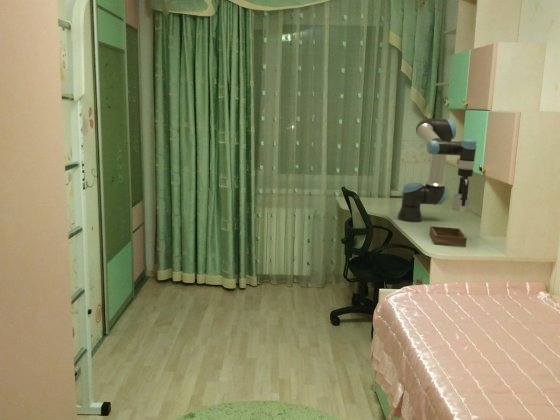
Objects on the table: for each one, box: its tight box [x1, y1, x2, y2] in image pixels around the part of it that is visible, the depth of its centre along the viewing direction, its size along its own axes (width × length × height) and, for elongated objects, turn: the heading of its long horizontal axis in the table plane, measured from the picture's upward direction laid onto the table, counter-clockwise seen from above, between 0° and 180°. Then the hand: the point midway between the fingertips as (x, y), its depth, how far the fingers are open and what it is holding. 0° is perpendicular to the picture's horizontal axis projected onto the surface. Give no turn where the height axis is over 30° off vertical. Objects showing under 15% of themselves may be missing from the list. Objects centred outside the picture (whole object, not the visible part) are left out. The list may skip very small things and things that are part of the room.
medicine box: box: [452, 193, 472, 213], centre depth 288 cm, size 8×4×9 cm, turn 34°
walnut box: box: [429, 226, 468, 248], centre depth 292 cm, size 22×16×5 cm
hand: (460, 210), depth 288 cm, fingers closed on medicine box, 8 cm apart
